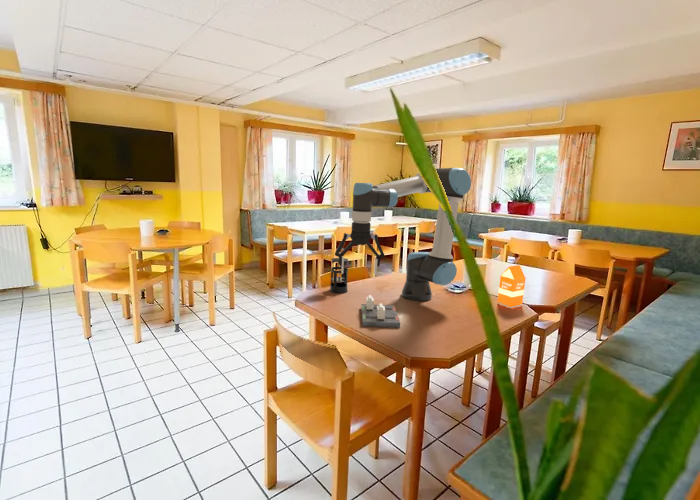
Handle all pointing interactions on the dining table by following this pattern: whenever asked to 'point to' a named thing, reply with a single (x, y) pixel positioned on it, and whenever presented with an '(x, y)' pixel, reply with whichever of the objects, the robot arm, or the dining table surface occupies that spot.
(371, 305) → the on handle
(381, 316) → the handle
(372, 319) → the switch board
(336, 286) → the french press
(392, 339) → the dining table surface
